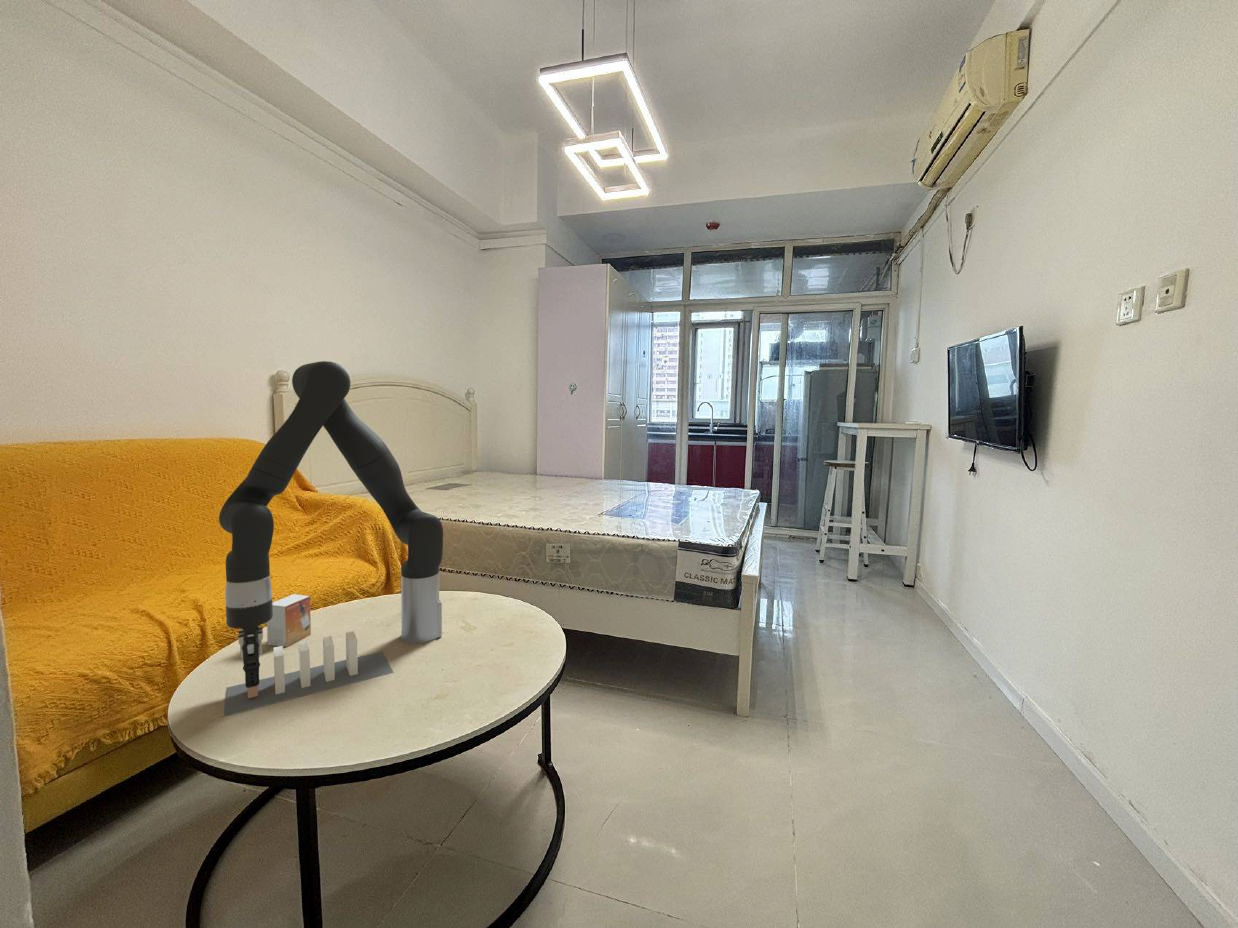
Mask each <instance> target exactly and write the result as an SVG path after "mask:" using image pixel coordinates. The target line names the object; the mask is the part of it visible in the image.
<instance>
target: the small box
mask: <svg viewBox="0 0 1238 928" xmlns="http://www.w3.org/2000/svg"><path fill="white" fill-rule="evenodd" d="M272 604H273V617H272V619H271V620H270V621H268V622H266V632H267V633H266V635H267V636H266V637H267V645H269V646H273V647H279V646H283V648H287V647H289V646H290V645H292V644H294V643H296V642H298V641H301V640H303V639H305V638H306V637H309V636H311V635H312V628H311V627H312V626H311V625H312V624H311V596H310V595H304V594H303V595H302V594H294V593H293V594H290V595H288V596H286V597H283V598H281V599H278V600H275V601H272Z"/></svg>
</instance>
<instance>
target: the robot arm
mask: <svg viewBox="0 0 1238 928" xmlns="http://www.w3.org/2000/svg"><path fill="white" fill-rule="evenodd" d="M351 383H352V382H351V378H350V376H349V373H348V372H347V370H346V369H345V367H343V366H342V365H340V364H339V363H336V362H334V361H328V360H327V361H325V360H324V361H321V360H320V361H316V362H310V363H306V364H302V365H300V366H298V367H297V369H295V371H294V372H293V374H292V377H291V385H292V388H293V390H294V393H295V395H296V396H297V397H298V401H297V403H296V405H295V407H294V408H293V410H292V412H291V413H290V414H289V416H288V417H287V418H286V420H285V421H284V423H283V424H282V425H281V426H280V427H279V429H278V430H276V432H275V433H274V434H273V435H272V437H271V438H270V439H268V441H267V443H265V445H264V447H262V449H261V451H260V452H259V455H258V456H257V458H256V460H255V461H254V463H253V464H252V466H251V469H250V470H249V472H248V474H247V476H246V477H245V478H244V479H243V481H242V482H241V483H240V484H239V485H238V486H237V487H236V488H235V490H234V491H233V492H232V493H231V494H230V495H229V497H227V499H226V501H225V502H224V504H223V505H222V507H221V510H220V511H219V515H218V522H219V524H220V527H221V528H222V529H223V530H224V531H226V532H227V533H229V534H231V541H232V542H231V550H230V551H229V552H228V553H226V554H227V555H226V557H225V591H224V597H225V617H226V619H225V620H226V626H227V627H229V628H230V629H234V630H236V629H240V630H239V631H238V636H237V637H238V641H237V642H238V644H239V645H240V646H239V649H240V659H243V661H242V664H243V666H242V670H243V672H244V676H245V678H244V679H245V680H244V682H245V683H246V687H247V688H250V687H254V686H257V685H259V680H260V666H261V662H260V656H261V655H262V654H263V648H262V645H263V644H262V643H263V642H262V640H264V639H263V638H264V636H263V635H264V633H263V632H264V631H263V629H264V627H263V626H262V625H264V624H267V622H268V621H270V620H271V619H272V617H273V604H272V603H273V585H272V580H271V569H270V567H271V566H270V550H271V547H272V542H273V536H274V529H275V528H274V527H275V523H274V522H275V520H274V516H273V513H272V512H271V510H270V509H269V508H268V505H269V503H271V501H272V499H273V498H274V497H275V496H278V495H281V494H283V492H285V490H286V489H287V487H288V486H289V484H290V482H291V480H292V479H293V477H294V475H295V473H296V471H297V469H298V467H299V465H300V463H301V461H302V460H303V458H304V456H305V454H306V452H307V451H308V449H309V448H310V446H311V444H312V443H313V441H314V440H315V438H316V436H317V435H318V434H319V432H320V430H322V428H324V429H325V430H326V432H327V433H328V435H329V436H330V438H331V439H332V440H331V441H332V442H333V443H334V444H335V446H336V448H337V449H338V450H339V452H340V453H341V455H342V456H343V457H344V459H345V461H346V462H347V465H349V467H350V468H351V470H352V471H353V472H354V474H355V475H356V477H357V478H358V480H359V481H360V482H361V484H362V485H363V486H364V487H365V489H366V490H367V492H368V493H369V494H370V495H371V497H372V498H373V499H374V500H375V501H376V503H377V505H379V507H380V508H381V510H382V511H383V513H384V515H385V516H386V518H387V520H388V522H389V524H390V526H391V528H392V529H393V531H394V533H395V535H396V537H397V539H398V540H399V541H400V542H402V543H403V544H404V545H406V546H407V560H405V561H404V562H403V563H402V564H401V566H400V579H401V580H400V581H401V582H400V583H401V584H400V589H401V590H400V591H401V592H400V593H401V594H400V595H401V596H400V597H401V605H400V606H401V611H400V612H401V641H403V642H404V643H407V644H414V645H417V644H424V643H429V642H432V641H433V640H436V639H438V638H441V636H442V637H443V626H442V625H443V623H442V621H443V611H442V608H443V603H442V602H443V601H442V600H441V599H440V566H441V563H442V561H443V549H444V528H443V527H444V526H443V523H442V521H441V520H440V518H438V517H437V516H436V515H434V514H431V513H427V512H425V511H423V510H421V509H420V508H419V507H418V505H416V503H415V502H414V500H413V498H411V496H410V495H409V493H408V492H407V490H406V488H405V483H404V479H403V475H402V471H401V468H400V465H399V463H398V462H397V460H396V458H395V456H394V454H392V452H391V450H390V448H389V447H388V445H387V444H386V443H385V442H384V441H383V439H382V438H381V437H380V436H379V435H378V434H377V433H376V432H375V431H374V430H373V429H371V427H369V426H368V425H367V424H365V422H364V421H362V420H361V419H360V418H359V417H358V416H357V415H356V414H355V412H354V411H353V409H352V408H351V406H350V404H349V403H348V402H347V400H346V397H347V395H349V392H350V389H351ZM260 625H261V626H260ZM252 660H256V662H253V663H248V664H247V662H248V661H252Z"/></svg>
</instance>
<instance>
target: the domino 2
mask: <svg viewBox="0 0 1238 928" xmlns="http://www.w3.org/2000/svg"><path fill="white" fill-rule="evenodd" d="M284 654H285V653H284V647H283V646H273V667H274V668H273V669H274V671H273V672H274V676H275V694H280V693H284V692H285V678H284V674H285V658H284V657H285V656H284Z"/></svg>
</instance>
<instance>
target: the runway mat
mask: <svg viewBox="0 0 1238 928" xmlns="http://www.w3.org/2000/svg"><path fill="white" fill-rule="evenodd" d="M334 669H335V680H332V681H328V682H326V679H325V675H324V665H323V664H322V665H317V666H314V667H310V686H308V687H304V688H301V682H300V670H296V671H292V672H288V673H284V678H285V692H284V693H280V694H275V675H274V676H270V677H267V678H262V679H259V685H258V696H256V697H252V698H248V690H247V687H246V683H241V684H236V685H232V686H228V687H227V686H226V687H225V688H226V689H225V698H224V707H223V709H224V710H223V717H228V716H231V715H235V714H239V713H243V712H246V711H250V710H255V709H258V708H262V707H266V706H270V705H274V704H278V703H282V702H285V701H289V700H293V699H297V698H300V697H305V696H309V695H313V694H316V693H320V692H324V691H328V690H331V689H335V688H339V687H343V686H347V685H350V684H354V683H355V684H356V683H358V682H362V681H367V680H370V679H374V678H378V677H382V676H385V675H389V674H393V673H395V672H394V670H393V668H392V666H391V664H390V662H389V660H388V659H387V657H386V655H385V652H384V651H383V650H381V651H378V652H373V653H369V654H365V655H361V656H360V655H359V656H358V674H355V675H351V676H350V675H349V672H348V669H347V667H346V659H344V660H340V661H334Z"/></svg>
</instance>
